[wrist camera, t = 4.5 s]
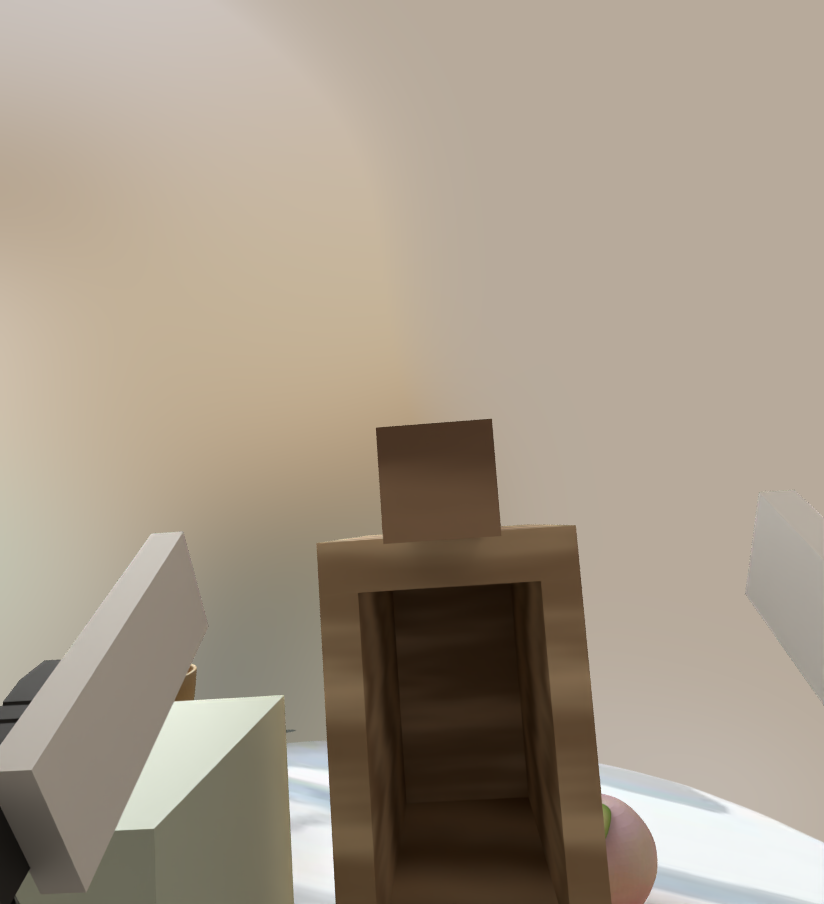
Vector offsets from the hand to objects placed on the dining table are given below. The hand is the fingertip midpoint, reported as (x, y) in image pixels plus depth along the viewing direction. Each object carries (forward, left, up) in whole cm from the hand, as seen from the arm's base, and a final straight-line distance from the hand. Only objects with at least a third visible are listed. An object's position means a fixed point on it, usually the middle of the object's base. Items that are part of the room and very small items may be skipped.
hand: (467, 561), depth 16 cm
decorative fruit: (-12, +38, -30) cm, 50 cm away
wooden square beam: (-7, +11, +1) cm, 13 cm away
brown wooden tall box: (-10, +16, -29) cm, 35 cm away
